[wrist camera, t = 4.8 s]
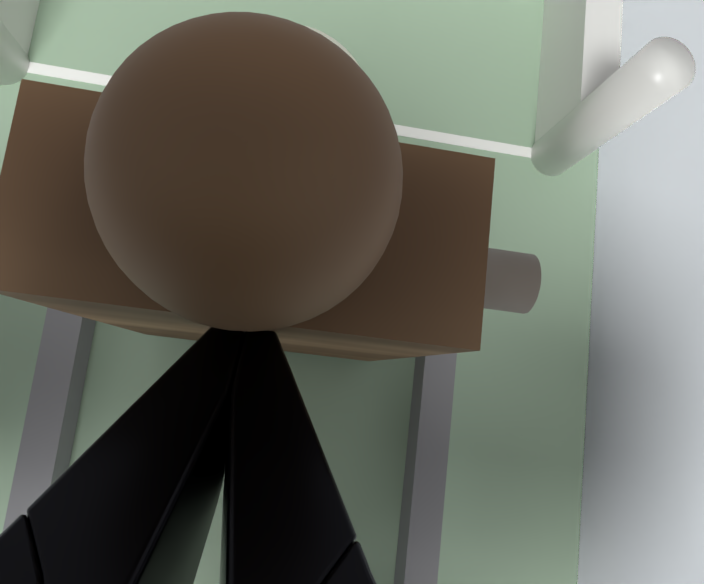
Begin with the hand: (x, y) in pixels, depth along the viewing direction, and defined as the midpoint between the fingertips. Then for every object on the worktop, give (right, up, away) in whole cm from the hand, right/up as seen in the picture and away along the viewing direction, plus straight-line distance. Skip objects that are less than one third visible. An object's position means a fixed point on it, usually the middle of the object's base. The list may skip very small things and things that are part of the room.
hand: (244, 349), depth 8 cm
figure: (-1, +1, +7) cm, 7 cm away
